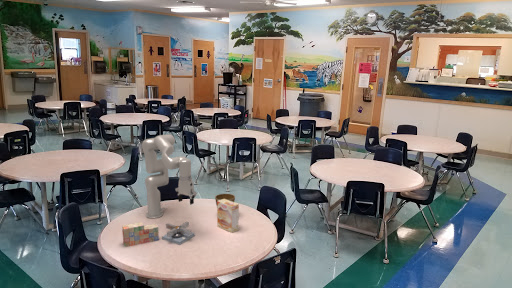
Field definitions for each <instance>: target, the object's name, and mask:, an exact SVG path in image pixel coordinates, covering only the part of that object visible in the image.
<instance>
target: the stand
mask: <svg viewBox="0 0 512 288" xmlns="http://www.w3.org/2000/svg"><path fill="white" fill-rule="evenodd" d="M195 234H196V233H195V232H192V231H191V235H187V234H183V236H181V237H178V238H174V237H172V236H171V237H167V233H166V234H164V235H162V236H161V240H164V241H167V242H169V243H173V244H176V245H179V246H180V245H182V244H184V243H186V242H187V241H189V240H190V239H192V238H194V237H195V236H196V235H195Z"/></svg>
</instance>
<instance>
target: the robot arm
mask: <svg viewBox="0 0 512 288" xmlns="http://www.w3.org/2000/svg"><path fill="white" fill-rule="evenodd" d="M175 143H176V139H175V137H174V136H173V134H160V135H157V136H155V137H151V138H146V139H144V140H143V141H142V142H141V149H142V152H143V155H144V161H145V169H146V170H145V171H146V172H147V173H148V174H150V175H148V176H146V177H145V178H144V179H145V180H144V185H145V188H146V197H147V199H146V200H147V201H146V202H147V212H146V213H145V217H146V218H147V219H158V218H161V217H162V216H163V215H164V212H163V211H164V210H165V209H166V207H165V206H163V207H161V206H162V205H161V192H160V190H159V189H158V187H164V186H166V185H167V186H168V184H169V180H170V179H169V178H170V177H169V176H170V175H169V170H172V171H173V170H176V169H178V170H179V179H178V187H175V188H174V189H175V192H176V193H175V194H177V197H178V199H177V200H178V202H179V203H180V202H182V201H183V196H188V197H189V205H190V206H192V205H193V204H194V202H195V198H196V196H197V191H196V190H195V187H194V181H193V180H192V179H193V177H192V161H191V159H190V158H187V157H185V156H183V155H180V156H176V157H175V156H174V157H170V156H171V155H172V154H173V153H174V151H175V148H174V147H175V146H174V145H175ZM157 150H159V151H160V152H161V158H159V159H158V154H157V153H156V151H157Z"/></svg>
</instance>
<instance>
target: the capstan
mask: <svg viewBox="0 0 512 288" xmlns="http://www.w3.org/2000/svg"><path fill="white" fill-rule="evenodd" d="M188 227H190V221H186V222H185V221H184V222H183V223H182V224H180V225H175V224H171V223H166V224H165V229H168V231H167V232H166V234H167V237H171V236H172V237H174V238H178V237H181V236H183V234H187V235H191V232H192V229H189V228H188Z"/></svg>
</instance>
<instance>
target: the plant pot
mask: <svg viewBox="0 0 512 288" xmlns="http://www.w3.org/2000/svg"><path fill="white" fill-rule="evenodd" d="M214 198H215V204H216V206H217V201H218V200H222V199H227V200H229V201H232V202H234V203H235V200H236V196H235V195H234V194H232V193H220V194H216V195H215V197H214Z"/></svg>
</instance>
